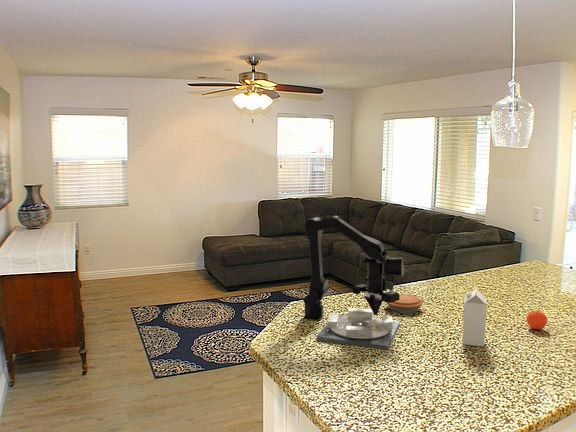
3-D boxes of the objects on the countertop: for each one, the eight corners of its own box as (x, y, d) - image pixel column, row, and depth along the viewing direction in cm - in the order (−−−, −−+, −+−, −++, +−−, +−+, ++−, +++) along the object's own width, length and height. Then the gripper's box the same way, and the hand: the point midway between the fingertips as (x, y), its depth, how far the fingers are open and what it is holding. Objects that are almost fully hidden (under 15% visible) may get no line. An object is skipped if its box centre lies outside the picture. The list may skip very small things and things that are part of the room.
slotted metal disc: (325, 338, 182) (325, 328, 181) (330, 315, 204) (330, 307, 204) (393, 341, 178) (393, 332, 178) (390, 319, 201) (391, 310, 200)
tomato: (520, 328, 196) (521, 309, 195) (526, 323, 201) (527, 305, 200) (542, 333, 190) (544, 314, 189) (549, 328, 195) (550, 310, 194)
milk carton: (483, 339, 185) (486, 287, 182) (484, 347, 178) (487, 293, 175) (462, 337, 187) (465, 285, 184) (462, 344, 180) (464, 291, 177)
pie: (431, 310, 216) (431, 298, 215) (404, 317, 208) (404, 305, 207) (403, 301, 229) (403, 289, 228) (377, 307, 220) (377, 296, 219)
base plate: (316, 340, 184) (316, 335, 184) (335, 317, 208) (335, 313, 207) (387, 350, 176) (387, 345, 175) (399, 325, 199) (399, 321, 198)
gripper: (409, 275, 194) (409, 316, 196) (371, 267, 209) (371, 305, 211) (389, 280, 187) (389, 322, 189) (351, 272, 202) (352, 311, 204)
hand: (375, 315), depth 199 cm, fingers closed
